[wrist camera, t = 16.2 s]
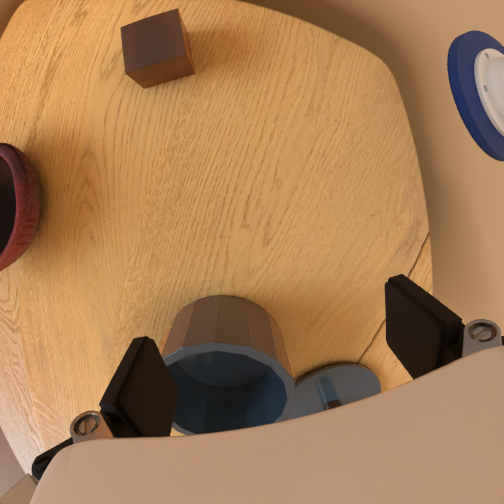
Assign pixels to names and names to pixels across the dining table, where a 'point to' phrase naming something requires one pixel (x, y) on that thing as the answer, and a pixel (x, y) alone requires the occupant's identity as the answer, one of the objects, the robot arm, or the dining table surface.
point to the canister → (227, 366)
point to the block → (157, 49)
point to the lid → (333, 388)
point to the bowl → (17, 203)
